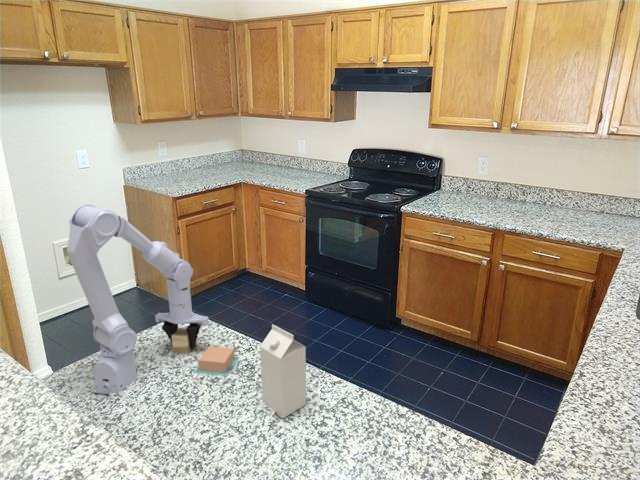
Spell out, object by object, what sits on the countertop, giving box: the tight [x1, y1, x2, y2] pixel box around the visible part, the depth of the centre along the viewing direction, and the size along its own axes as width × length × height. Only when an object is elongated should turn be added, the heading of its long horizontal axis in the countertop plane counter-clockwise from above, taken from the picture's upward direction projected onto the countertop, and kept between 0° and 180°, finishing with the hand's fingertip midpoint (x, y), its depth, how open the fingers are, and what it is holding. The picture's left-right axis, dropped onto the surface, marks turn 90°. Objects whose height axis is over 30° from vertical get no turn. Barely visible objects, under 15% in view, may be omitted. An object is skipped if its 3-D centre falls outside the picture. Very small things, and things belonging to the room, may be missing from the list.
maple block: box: [171, 327, 194, 355], centre depth 125 cm, size 4×4×6 cm
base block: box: [197, 346, 236, 373], centre depth 117 cm, size 7×7×3 cm
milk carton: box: [259, 324, 307, 419], centre depth 100 cm, size 7×7×19 cm
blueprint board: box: [193, 356, 240, 377], centre depth 118 cm, size 14×12×1 cm
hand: (184, 346), depth 125 cm, fingers closed on maple block, 4 cm apart
